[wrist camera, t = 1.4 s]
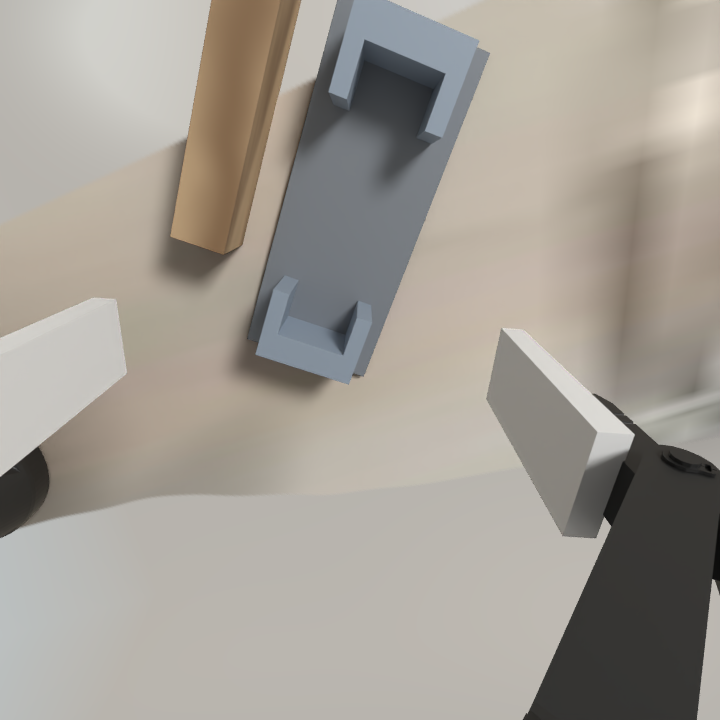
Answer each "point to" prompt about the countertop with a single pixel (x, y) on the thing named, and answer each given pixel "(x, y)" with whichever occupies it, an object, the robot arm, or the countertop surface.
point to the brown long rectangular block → (232, 119)
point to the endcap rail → (362, 183)
